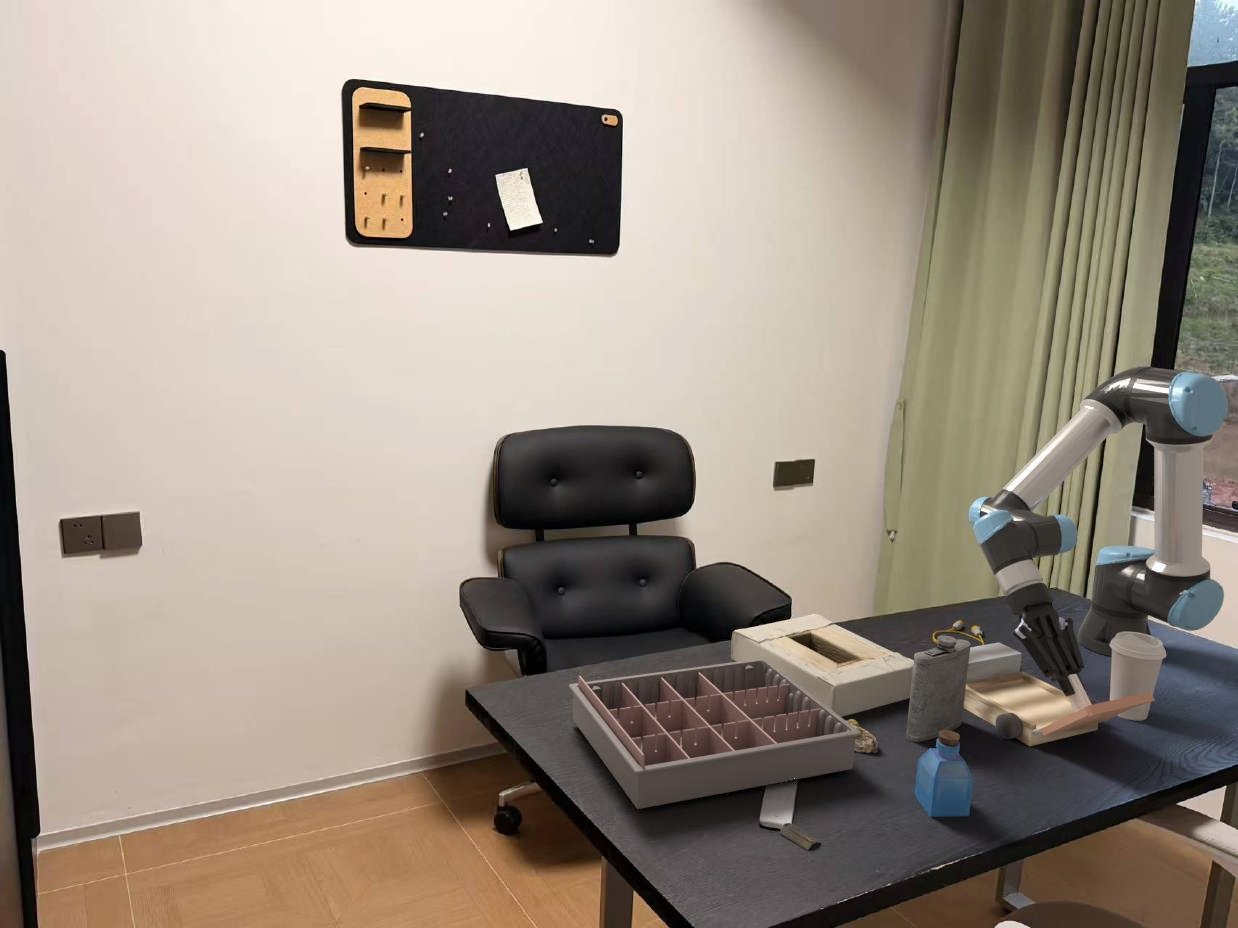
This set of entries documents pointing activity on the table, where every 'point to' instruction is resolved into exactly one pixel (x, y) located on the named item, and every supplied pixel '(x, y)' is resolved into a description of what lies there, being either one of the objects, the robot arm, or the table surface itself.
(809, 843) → the block
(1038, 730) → the tailgate
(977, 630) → the extension cord
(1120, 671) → the coffee cup
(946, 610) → the table surface
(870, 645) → the box
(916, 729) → the flask
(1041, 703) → the truck bed
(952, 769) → the perfume bottle
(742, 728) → the organizer tray
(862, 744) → the mineral rock
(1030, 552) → the robot arm
